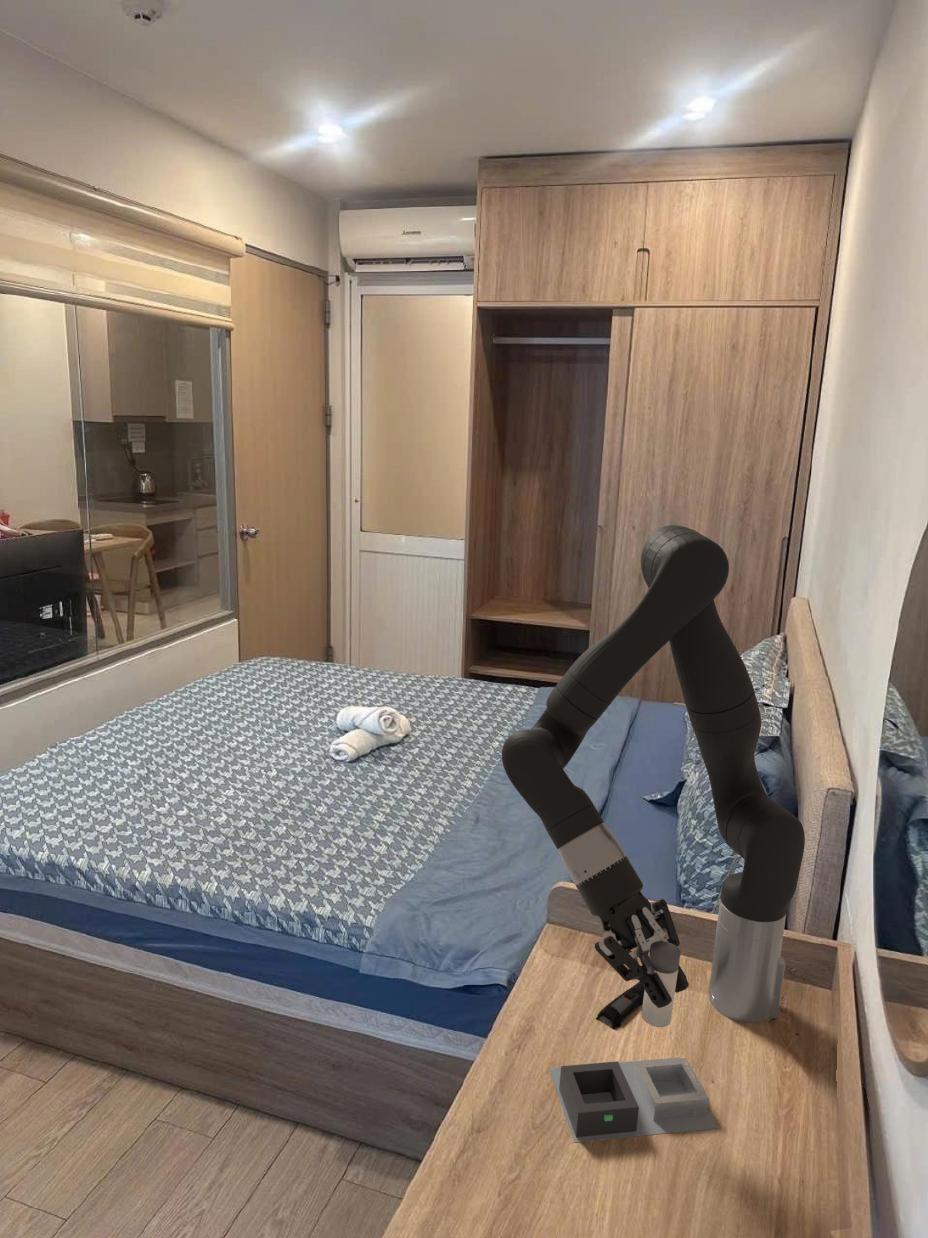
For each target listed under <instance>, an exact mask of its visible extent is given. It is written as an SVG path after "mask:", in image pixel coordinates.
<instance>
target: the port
mask: <svg viewBox="0 0 928 1238" xmlns="http://www.w3.org/2000/svg"><path fill="white" fill-rule="evenodd" d="M619 1063H620V1062H619V1061H618V1060H617V1061H606V1062H595V1063H593V1062H592V1063H584V1064H583V1063H582V1064H581V1063H580V1064H572V1065H561V1066H560V1068H561V1073H560V1086H559V1090H560V1093H561V1096H562V1099H563V1102H564V1104H565V1107H566V1110H567V1113H568V1116H569V1119H570V1122H571V1124H572V1127H573V1130H574V1133H575V1136H576V1137H584V1136H594V1135H604V1134H614V1133H624V1132H634V1131H636V1130H637V1120H638V1111H639V1106H638V1104H637V1102H636V1100H635V1097H634V1095H633V1093H632V1091H631V1089H630V1087H629V1084H628V1082H627V1080H626V1078H625V1076H624V1073H623V1071H622V1069H621V1067H620V1065H619ZM606 1092H610V1094H611V1096H612V1098H613V1102H602V1103H592V1104H585V1103H584V1101H583V1098H582V1095H584V1094H595V1093H606Z"/></svg>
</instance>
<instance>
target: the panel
mask: <svg viewBox="0 0 928 1238" xmlns="http://www.w3.org/2000/svg"><path fill="white" fill-rule="evenodd" d="M679 1058H681V1057H680V1056H678V1057H669V1058H657V1059H655V1058H654V1059H646V1060H635V1061H633V1060H632V1061H621V1062H619V1065H620V1067H621V1069H622V1071H623V1073H624V1076H625V1078H626V1080H627V1082H628V1084H629V1087H630V1089H631V1091H632V1093H633V1095H634V1097H635V1100H636V1102H637V1104H638V1106H639V1111H638V1120H637V1130H636V1131H634V1132H624V1133H614V1134H604V1135H594V1136H584V1137H576V1136H575V1133H574V1130H573V1127H572V1124H571V1122H570V1119H569V1116H568V1113H567V1110H566V1107H565V1104H564V1102H563V1099H562V1096H561V1093H560V1090H559V1086H560V1073H561V1067H551V1068H548V1070H549V1073H550V1076H551V1079H552V1082H553V1086H554V1087H555V1090H556V1093H557V1096H558V1100H559V1102H560V1105H561V1108H562V1110H563V1113H564V1117H565V1120H566V1123H567V1125H568V1128H569V1130H570V1134H571V1137H572V1140H573V1142H574V1143H575V1144H576V1143H583V1142H584V1143H587V1142H593V1141H594V1142H595V1141H596V1142H597V1141H604V1140H614V1139H624V1138H635V1137H644V1136H652V1135H653V1136H655V1135H664V1134H674V1133H675V1134H676V1133H684V1132H694V1131H703V1130H712V1129H713V1130H714V1129H720V1127H719V1125H718V1123H717V1121H716V1119H715V1117H714V1116H713V1114H712V1113H711V1110H710V1109H709V1108H708V1109H707V1116H696V1117H686V1118H676V1119H666V1120H656V1121H653V1119H652V1117H651V1114H650V1112H649V1110H648V1108H647V1106H646V1104H645V1102H644V1099H643V1097H642V1095H641V1093H640V1091H639V1089H638V1087H637V1085H636V1082H635V1080H634V1071H635V1062H644V1061H656V1060H668V1059H679ZM653 1084H654V1086H655V1088H656V1090H657V1092H658V1094H659V1096H660V1097H662V1096H673V1095H684V1094H687V1093H686V1091H685V1089H684V1087H683V1085H682V1083H681V1081H680V1080H678V1081H667V1082H656V1083H653ZM582 1098H583V1101H584V1103H585V1104H592V1103H602V1102H613V1098H612V1096H611V1094H610V1092H606V1093H595V1094H584V1095H582Z"/></svg>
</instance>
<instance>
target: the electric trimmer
mask: <svg viewBox="0 0 928 1238" xmlns="http://www.w3.org/2000/svg"><path fill="white" fill-rule="evenodd" d="M644 991H645V989H644V987H643V985H642V984H641V982H640V981H639V980H638V982H637V983H635V984H634V985H633V986H632V987H630V988H628V989H626V990H625V991H623V992H622V993H621V994H620V995H618V996H616V998H614V999H613V1000H612V1001H610V1002H609V1003H607V1005H605V1006H604V1007H603V1008H602V1009H600V1011H599V1012H598V1014H597V1016H596V1018H595V1020H596V1021H598V1022H600V1023H602V1024H604V1025H606V1026H607V1027H609V1028H610V1029H612V1030H614V1031H615V1030H616V1029H617V1028H618V1029H619V1028H621V1026H622V1023H623V1022H624V1021H625V1019H626V1018H627V1017H628V1016H629V1015H630V1014H631V1013H633V1012H634V1011H635V1010H636V1009H638V1008H639V1007H641V1006H643V998H644Z"/></svg>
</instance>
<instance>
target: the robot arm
mask: <svg viewBox="0 0 928 1238" xmlns="http://www.w3.org/2000/svg"><path fill="white" fill-rule="evenodd" d="M729 563H730V562H729V558H728V557H727V554H726V553H725V551H724V549H723V548H722V547H721V546H720V545H719V544H718V543H717V542H715V541H713V540H712V539H710V538H708V537H707V536H705V535H703V534H701V533H700V532H698V531H696V530H694V529H692V528H690V527H687V526H682V525H676V524H675V525H674V524H673V525H672V524H671V525H664V526H662V527H659V528H657V529H656V530H655V531H654V532H653V533H652V534H650V536H649V537H648V538H647V539H646V541H645V543H644V544H643V548H642V551H641V555H640V569H641V574H642V577H643V580H644V582H645V584H646V586H647V588H648V589H647V591H646V592H645V594H644V595H643V597H642V599H641V600H640V602H639V603H638V604H637V605H636V607H635V608H634V609H633V610H632V612H631V613H630V614H629V615H628V616H627V617H626V618H625V619H623V620H622V621H621V622H620V623H619V624H618V625H617V626H616V627H614V629H612V630H610V632H608V633H607V634H605V635H604V636H603V637H601V638H599V640H597V641H596V642H594V644H592V645H590V647H588V648H587V649H586V650H585V651H584V652H583V653H581V655H580V656H579V657H578V658H577V659H576V660H575V661H574V662H573V663H572V665H571V666H570V667H569V668H568V670H567V671H566V672H565V674H564V675H563V676H562V678H561V679H560V680H559V681H558V682H557V683H556V685H555V686H554V687H553V689H552V690H551V692H550V693H549V694H548V697H547V699H546V709H545V710H544V711H543V713H542V714H541V715H540V717H539V718H538V720H537V721H536V723H534V725H533V726H531V728H530V729H521V730H518V731H516V732H514V733H512V734H511V735H509V736H508V737H507V738H506V740H505V741H504V742H503V743H504V744H503V746H502V749H501V761H502V767H503V769H504V772H505V774H506V775H507V777H508V779H509V781H510V782H511V784H512V786H513V787H514V789H516V791H517V792H518V794H519V795H520V796H521V797H522V798H523V800H524V801H525V802H526V804H527V805H528V806H529V807H530V808H531V810H532V811H533V812H534V813H535V814H536V815H537V816H538V817H539V819H540V820H541V823H542V825H543V827H544V828H545V830H546V832H547V833H548V835H549V837H550V839H551V841H552V842H553V843H554V846H555V847H556V849H557V851H558V854H559V855H560V858H561V860H562V863H563V866H564V868H565V870H566V872H567V873H568V875H569V877H570V879H571V880H572V882H573V884H574V885H575V887H576V889H577V891H578V893H579V894H580V896H581V898H582V901H584V903H585V905H586V906H587V908H588V911H589V912H590V914H591V915H592V916H595V917H598V918H599V919H600V921H601V924H602V925H601V926H602V929H603V932H604V933H603V935H602V938H601V939H600V940H599V941H597V942H595V943H594V949H595V951H596V952H597V953H598V954H599V955H600V956H601V957H602V959H604V960H605V961H606V962H607V963H608V965H610V967H611V968H612V969H614V971H615V972H616V973H617V974H618V975H619V976H620V977H621V978H622V979H623V980H624V981H625V982H630V981H634V980H637V981H638V982H639V981H640V982H641V984H642V985H643V987H644V989H645V991H646V992H647V994H648V996H649V997H650V1000H651V1001H652V1003H653V1004H654V1005H656V1006H657V1007H658V1008H662V1007H664V1006H667V1005H668V1004H670V1003H671V1002H672V998H671V996H670V995H669V993H668V991H667V989H666V988H665V986H664V984H663V983H662V981H661V979H660V977H659V976H658V974H657V973H656V972H655V973H654V968H653V965H652V963H651V960H650V958H649V953H650V946H651V944H652V943H653V942H656V941H666V942H669V943H672V944H674V945H675V946H677V947H679V946H680V944H681V943H680V939H679V936H678V933H677V930H676V926H675V925H674V921H673V917H672V914H671V912H670V909H669V907H668V904H667V903H668V902H667V901H666V900H665V899H663V898H661V899H659V900H656V901H650V900H649V899H648V898H647V897H646V896H644V894H643V893H642V890H643V889H644V884H643V881H642V880H641V878H640V877H639V875H638V873H637V871H636V869H635V868H634V866H633V865H632V863H631V861H630V860H629V858H628V855H627V854H626V853H625V851H624V849H623V848H622V846H621V845H620V843H619V840H617V837H615V835H614V834H613V832H612V831H611V830H610V828H609V827H608V825H607V824H606V823H605V821H604V819H603V818H602V816H601V814H600V813H599V811H598V809H597V808H596V806H595V804H594V802H593V800H592V799H591V798H590V797H589V794H588V793H587V792H586V791H585V790H584V789H583V788H580V787H579V786H577V785H575V784H574V783H573V782H572V780H571V779H570V778H569V776H568V774H567V773H566V771H565V770H564V769H565V768H566V766H567V765H568V764H569V763H570V761H571V760H572V758H573V757H574V755H575V754H576V752H577V750H578V748H579V747H580V745H581V744H582V742H583V740H584V739H585V737H586V734H587V733H588V732H589V730H590V729H591V728H593V726H594V725H595V723H597V722H598V721H599V719H600V718H601V717H602V715H603V714H604V713H605V712H606V710H607V709H608V708H609V707H610V705H611V704H612V703H613V701H614V700H616V698H617V697H618V696H619V694H620V693H621V692H622V690H624V687H626V685H628V683H629V682H630V681H631V680H632V678H633V677H634V676H635V675H636V674H637V673H639V671H640V670H641V669H642V668H643V667H644V666H645V664H647V663H648V662H649V661H650V660H651V659H652V658H653V657H654V656H655V654H656V653H658V652H659V651H660V650H661V649H662V648H663V647H664V646H665V645H666V644H667V643H669V645H670V650H671V654H672V658H673V662H674V668H675V670H676V675H677V678H678V682H679V685H680V689H681V693H682V697H683V701H684V704H685V708H686V711H687V715H688V718H689V721H690V724H691V727H692V730H693V734H694V736H695V738H696V742H697V745H698V748H699V751H700V754H701V757H702V761H703V764H704V766H705V769H706V773H707V775H708V780H709V783H710V784H709V785H710V789H711V794H712V800H713V806H714V812H715V818H716V823H717V826H718V831H719V833H720V836H721V837H722V839H723V841H724V842H725V844H726V845H727V846H728V847H729V848H730V849H731V850H732V851H733V852H734V853H736V854H737V855H738V856H739V857H741V858H742V859H743V860H744V862H743V868H742V872H736V873H732V874H729V875H728V876H726V877H725V878H724V880H723V881H722V884H721V889H720V898H719V904H718V905H719V906H718V912H717V913H718V914H717V920H716V921H717V922H716V928H715V929H716V931H715V938H714V939H715V940H714V946H713V956H712V962H711V969H710V971H711V973H710V979H709V987H708V1000H709V1003H710V1004H711V1005H712V1007H713V1008H714V1009H715V1010H716V1011H717V1012H718V1013H720V1014H721V1015H723V1016H724V1017H726V1018H728V1019H730V1020H733V1021H736V1022H741V1023H744V1024H745V1023H746V1024H759V1023H762V1022H765V1021H766V1022H768V1023H769V1022H770V1021H771V1020H772V1019H778V1018H779V1010H780V1003H781V998H782V991H783V982H784V976H785V969H786V959H784V958H783V956H782V955H781V954H782V947H783V940H784V933H785V926H786V918H787V911H788V906H789V904H790V902H791V900H792V898H793V897H794V896H795V893H796V890H797V886H798V882H799V876H800V871H801V867H802V862H803V858H804V853H805V844H806V838H805V837H806V836H805V831H804V827H803V824H802V822H801V820H800V819H799V818H798V817H796V816H795V815H794V814H792V813H791V812H790V811H789V810H787V809H786V808H784V807H783V806H781V805H780V804H778V803H777V802H775V801H774V800H773V799H771V798H770V796H769V795H768V793H767V792H766V791H765V788H764V785H763V783H762V781H761V778H760V775H759V773H758V769H757V766H756V761H755V760H756V759H755V752H756V749H757V745H758V743H759V739H760V735H761V730H762V715H761V711H760V706H759V703H758V698H757V695H756V692H755V688H754V685H753V682H752V679H751V677H750V674H749V671H748V669H747V666H746V664H745V663H744V661H743V659H742V657H741V655H740V652H739V651H738V649H737V647H736V646H735V644H734V642H733V640H732V638H731V637H730V635H729V633H728V632H727V630H726V628H725V626H724V625H723V622H722V619H721V617H720V615H719V613H718V610H717V607H716V603H715V602H716V601H715V599H716V597H718V596H719V594H720V593H721V592H722V591H723V588H724V587H725V585H726V584H727V581H728V578H729V572H730V564H729ZM665 931H666V933H665ZM666 934H667V935H666ZM666 936H668V938H667V937H666ZM634 949H635V950H634ZM632 950H633V951H632ZM638 958H639V960H640V963H641V965H640V963H639V961H638ZM689 987H690V984H689V981H688V979H687V976H686V974H685V972H684V971H683V969H682V967H681V966H680V964H679V967H678V974H677V981H676V989H675V994H677V993H680V992H683V991H686V990H687V989H688V988H689Z"/></svg>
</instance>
